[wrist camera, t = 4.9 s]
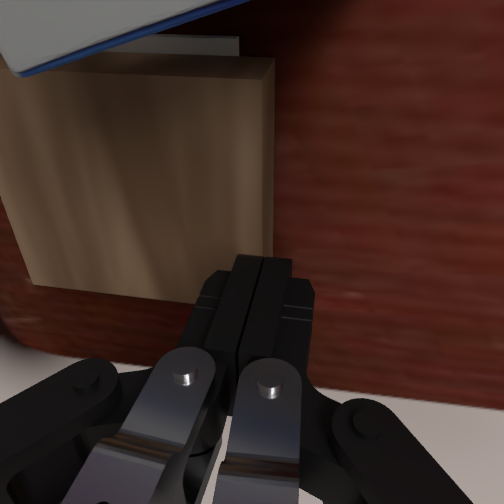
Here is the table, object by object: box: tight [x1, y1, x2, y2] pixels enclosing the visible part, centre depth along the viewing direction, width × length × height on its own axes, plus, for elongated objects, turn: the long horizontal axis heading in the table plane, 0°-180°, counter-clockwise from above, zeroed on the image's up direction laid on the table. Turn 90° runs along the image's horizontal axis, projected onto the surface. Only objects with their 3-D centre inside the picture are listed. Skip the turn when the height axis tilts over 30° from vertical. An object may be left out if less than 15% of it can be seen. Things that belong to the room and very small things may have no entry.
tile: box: [0, 52, 275, 304], centre depth 18 cm, size 3×9×10 cm
